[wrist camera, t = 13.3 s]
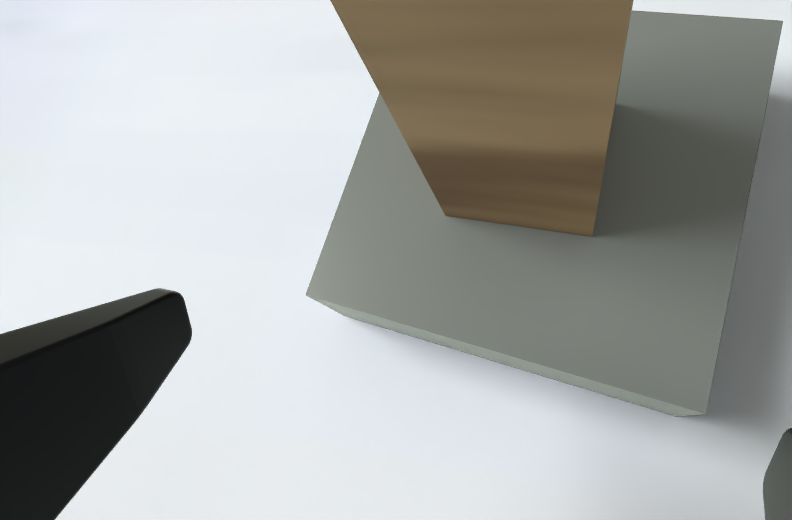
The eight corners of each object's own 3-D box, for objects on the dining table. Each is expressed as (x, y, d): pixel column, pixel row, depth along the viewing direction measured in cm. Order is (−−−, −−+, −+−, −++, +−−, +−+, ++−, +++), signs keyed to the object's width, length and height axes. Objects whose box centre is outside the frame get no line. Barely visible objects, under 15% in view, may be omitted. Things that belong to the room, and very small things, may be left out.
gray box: (673, 416, 17) (705, 413, 14) (347, 317, 21) (305, 294, 18) (739, 96, 20) (783, 21, 16) (436, 62, 24) (415, -5, 20)
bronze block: (592, 236, 16) (638, -39, 6) (445, 215, 17) (314, -30, 8) (615, 102, 17) (684, -298, 7) (475, 94, 18) (389, -247, 9)
